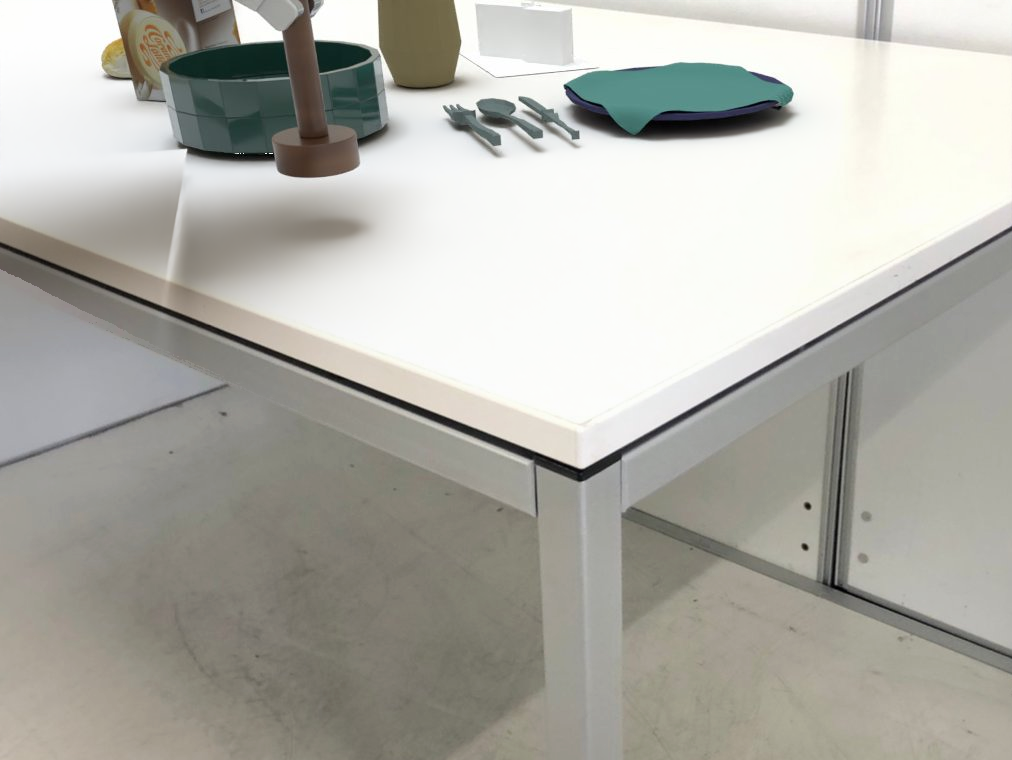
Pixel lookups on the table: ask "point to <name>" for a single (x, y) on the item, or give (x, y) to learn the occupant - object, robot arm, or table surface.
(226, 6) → the coffee box
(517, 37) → the napkin holder
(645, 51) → the table surface
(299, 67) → the brown pole stand
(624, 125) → the cutlery set
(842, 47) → the table surface
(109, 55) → the bread roll
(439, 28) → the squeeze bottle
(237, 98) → the bowl
